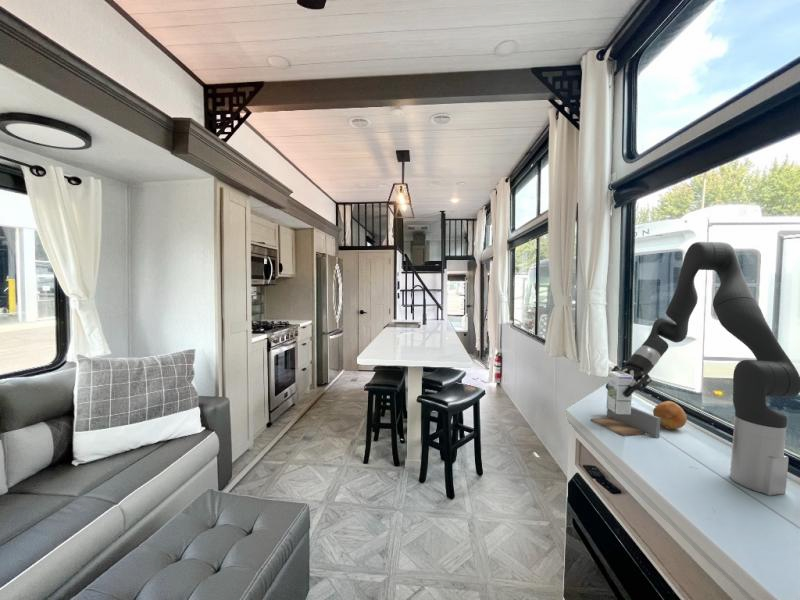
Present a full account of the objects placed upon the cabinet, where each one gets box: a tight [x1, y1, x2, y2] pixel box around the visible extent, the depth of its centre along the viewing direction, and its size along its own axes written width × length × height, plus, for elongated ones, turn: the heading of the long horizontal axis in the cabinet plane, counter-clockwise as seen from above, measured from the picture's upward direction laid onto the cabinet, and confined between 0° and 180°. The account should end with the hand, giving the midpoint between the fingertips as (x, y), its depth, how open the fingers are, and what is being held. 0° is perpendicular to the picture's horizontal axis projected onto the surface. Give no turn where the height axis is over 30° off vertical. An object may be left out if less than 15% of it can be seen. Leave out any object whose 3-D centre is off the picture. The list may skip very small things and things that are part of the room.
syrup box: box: [606, 370, 633, 415], centre depth 122 cm, size 6×6×14 cm
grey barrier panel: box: [606, 406, 661, 439], centre depth 123 cm, size 20×2×7 cm, turn 14°
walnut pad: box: [590, 416, 647, 437], centre depth 122 cm, size 14×10×1 cm
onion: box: [652, 400, 688, 430], centre depth 123 cm, size 10×10×10 cm
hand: (616, 392), depth 121 cm, fingers closed on syrup box, 6 cm apart
